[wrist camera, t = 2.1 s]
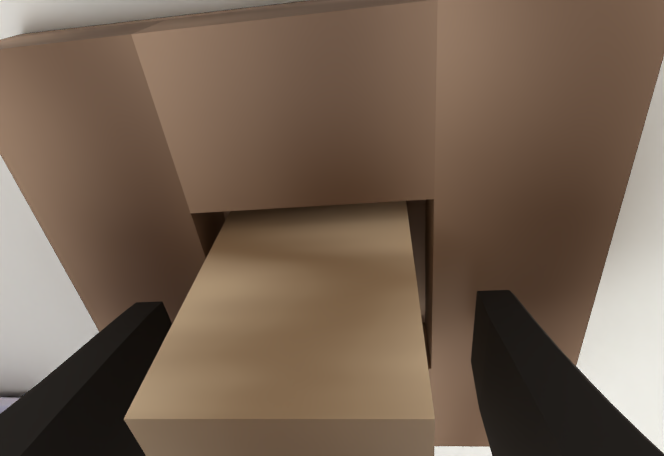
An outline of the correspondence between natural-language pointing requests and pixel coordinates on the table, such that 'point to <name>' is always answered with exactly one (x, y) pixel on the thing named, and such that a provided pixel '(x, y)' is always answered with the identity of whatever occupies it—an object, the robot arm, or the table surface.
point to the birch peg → (295, 342)
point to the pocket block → (343, 148)
